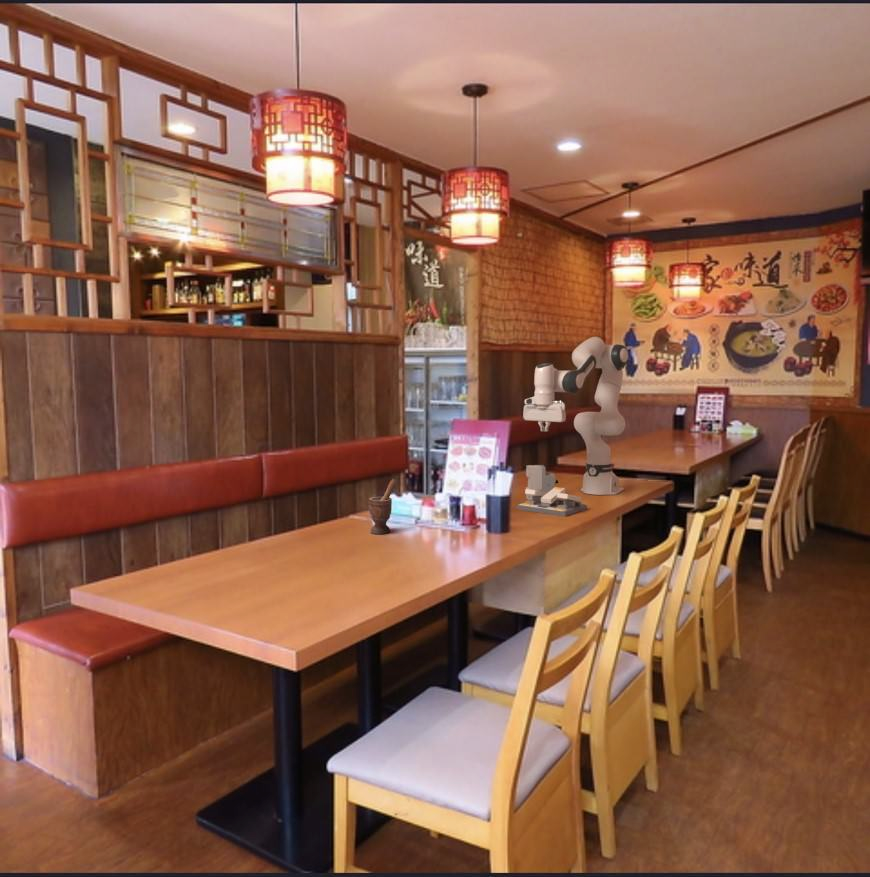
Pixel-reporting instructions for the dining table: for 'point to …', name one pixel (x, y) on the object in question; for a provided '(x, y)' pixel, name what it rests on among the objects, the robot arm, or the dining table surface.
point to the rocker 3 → (569, 497)
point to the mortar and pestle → (381, 510)
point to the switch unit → (552, 506)
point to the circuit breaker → (539, 479)
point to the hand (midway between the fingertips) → (544, 431)
